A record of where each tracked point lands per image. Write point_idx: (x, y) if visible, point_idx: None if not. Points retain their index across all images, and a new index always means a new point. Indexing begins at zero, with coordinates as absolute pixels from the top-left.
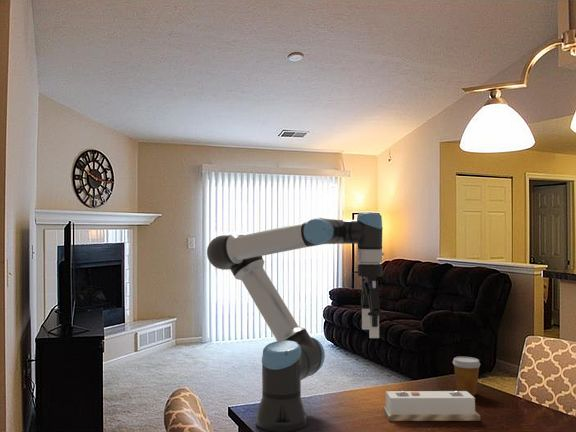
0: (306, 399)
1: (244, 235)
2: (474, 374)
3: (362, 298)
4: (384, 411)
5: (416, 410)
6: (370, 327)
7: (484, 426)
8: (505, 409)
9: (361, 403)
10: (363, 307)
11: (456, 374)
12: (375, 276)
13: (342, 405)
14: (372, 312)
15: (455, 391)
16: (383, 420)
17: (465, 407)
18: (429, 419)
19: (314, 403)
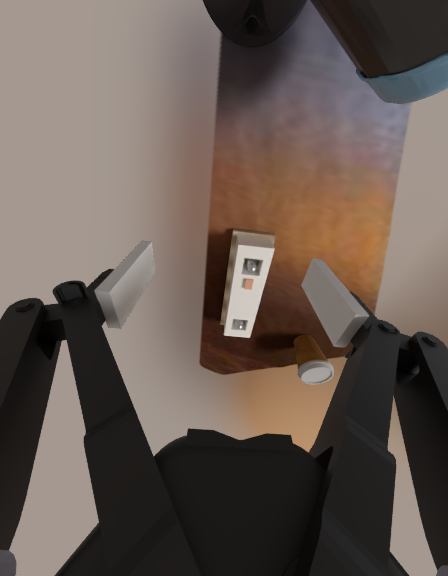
0: None
1: None
2: (297, 363)
3: (428, 375)
4: (263, 232)
5: (232, 270)
6: (125, 261)
7: (204, 317)
8: (246, 348)
9: (318, 209)
10: (368, 326)
11: (313, 351)
12: None
13: (321, 169)
14: (11, 306)
15: (240, 327)
16: (236, 221)
17: (225, 319)
18: (226, 278)
19: (359, 100)
